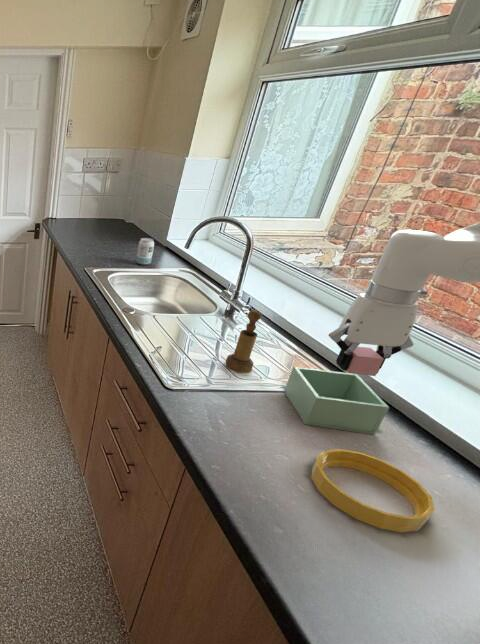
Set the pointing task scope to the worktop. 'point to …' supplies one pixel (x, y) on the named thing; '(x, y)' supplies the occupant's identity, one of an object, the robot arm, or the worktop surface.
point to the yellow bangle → (382, 471)
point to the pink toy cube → (365, 362)
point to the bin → (335, 400)
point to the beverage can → (145, 251)
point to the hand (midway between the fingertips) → (356, 368)
